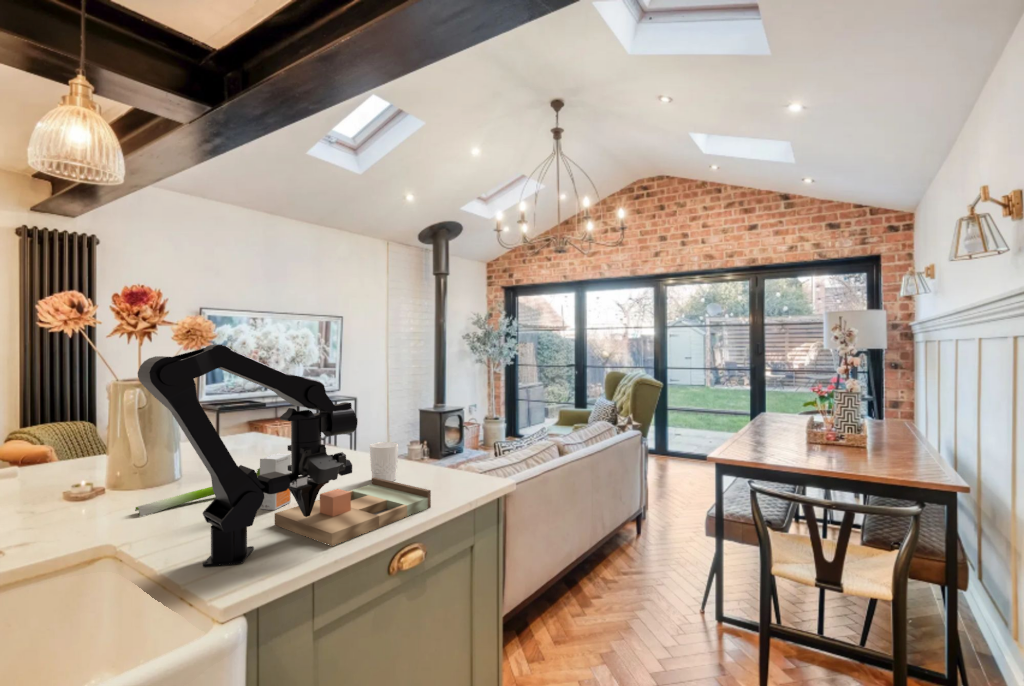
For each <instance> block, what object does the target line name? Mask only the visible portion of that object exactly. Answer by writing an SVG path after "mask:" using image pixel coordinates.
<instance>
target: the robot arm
mask: <svg viewBox="0 0 1024 686" xmlns="http://www.w3.org/2000/svg"><path fill="white" fill-rule="evenodd" d="M217 369H219V370H221V371H223V372H226V373H228V374H231V375H234V376H237V377H239V378H241V379H243V380H247V381H248V382H251V383H254V384H256V385H259V386H261V387H264V388H266V389H269V390H270V391H272V392H274V393H275V395H277V396H279V398H281V400H282V399H283V400H284V401H286V402H287V403H289V404H291V405H292V406H296V407H302V408H306V409H303V410H297V409H295V408H293V407H287V408H288V409H287V410H286V411H285V412H284V413H283V414H282V415H280V417H279V419H280V420H282V421H286V422H290V441H291V442H290V443H291V444H288V445H287V451H288V452H291V453H290V454H291V465H288V471H291V473H289V474H283V473H279V472H270V473H266V474H262V475H258V476H257V474H256V473H257V471H255V469H253V468H250V467H247V466H244V465H242V464H240V465H239V466H238V464H237V463H236V462H235V459H234V458H233V456H232V454H231V452H229V450H228V448H227V447H226V444H225V443H224V442H223V440H222V438H221V436H220V435H219V433H218V432H217V430H216V428H215V427H214V425H213V423H212V422H211V420H210V418H209V416H208V415H207V413H206V412H205V410H204V408H203V407H202V406H203V405H201V403H200V402H199V399H198V391H197V384H196V381H195V379H197V378H200V377H203V376H204V375H206V374H208V373H210V372H212V371H215V370H217ZM137 378H138V380H139V382H140V383H141V385H142V386H143V387H144V388H145V389H146V390H147V391H148V392H149V393H150V394H151V396H153V397H154V398H155V399H156V400H157V401H159V403H161V404H162V405H163V406H164V407H166V408H167V410H168V411H170V413H171V414H172V416H173V418H174V420H175V421H176V422H177V424H178V426H179V427H180V429H181V431H182V432H183V433H184V435H185V437H186V439H187V440H188V442H189V443H190V445H191V446H192V448H193V449H194V450H195V453H196V454H197V455H198V458H199V459H200V460H201V462H202V463H203V465H204V467H205V468H206V471H208V473H209V475H210V478H211V487H212V488H213V491H214V495H215V498H214V499H213V500H212V501H211V502H210V503H209V505H208V506H207V507H206V508H205V509H204V511H202V516H203V518H204V520H205V522H206V523H208V524H210V525H211V526H210V556H208V557H207V559H206V560H205V561H203V563H202V567H215V566H228V565H237V564H238V565H240V564H243V563H244V562H245V560H247V558H248V557H249V556H250V555H251V553H252V552H253V551H254V549H255V547H254V546H252V545H251V546H248V527H251V526H253V525H254V521H255V518H256V516H257V514H258V511H259V510H260V507H261V505H262V503H263V500H264V493H267V494H276V493H279V492H283V491H286V490H287V489H289V490H290V492H291V494H292V496H293V498H294V499H295V501H296V504H297V505H298V506H299V508H300V510H301V512H302V514H303V516H305V517H308V516H310V514H311V511H312V509H313V506H314V503H315V501H317V500H316V499H317V497H318V495H319V493H320V490H321V489H322V488H323V487H324V486H325V485H327V484H329V483H330V481H336V480H338V476H341V477H342V476H346V475H350V474H352V473H353V463H352V462H351V460H350V459H347V455H346V454H345V453H344V452H343V451H342V452H341V451H340V452H337V453H333V454H327V447H326V444H325V443H324V444H323V443H322V434H323V435H324V436H325V437H335V436H340V435H341V436H342V435H345V434H353V433H354V432H355V431H356V430H357V427H358V423H359V422H358V417H357V415H356V413H355V410H354V409H353V407H352V406H353V405H352V403H351V402H340V403H337V404H336V403H334V402H333V401H332V399H330V397H329V395H328V394H327V393H326V387H325V385H324V383H323V382H321V381H320V380H317V379H314V378H308V377H305V376H301V375H300V376H299V375H295V374H289V373H287V372H284V371H282V370H279V369H276V368H275V367H272V366H270V365H268V364H266V363H263V362H260V361H258V360H256V359H254V358H251V357H249V356H248V355H245V354H242V353H241V352H238V351H236V350H233V349H231V347H229V346H227V345H225V344H209V345H207V346H205V347H203V348H199V349H196V350H193V351H187V352H184V353H181V354H177V355H173V356H166V355H165V356H163V355H162V356H153V357H152V356H151V357H149V358H147V359H146V360H144V361H143V362H142V363H141V364H140V366H139V369H138V370H137ZM312 410H315V411H318V412H313V411H312Z"/></svg>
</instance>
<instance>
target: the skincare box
mask: <svg viewBox="0 0 1024 686" xmlns="http://www.w3.org/2000/svg"><path fill="white" fill-rule="evenodd" d="M288 465H291V453H278V452H277V453H273V454H270V455H267V456H265V457H262V458H260V459H259V468H260V475H262V474H266V473H270V472H279V473H283V474H289V473H291V471H288ZM291 494H292V493H291V492H290V490H289V489H287V490H286V491H283V492H279V493H276V494H267V493H264V500H263V503H262V505H261V507H260V508H259V510H265V511H266V510H269V511H276V510H277V509H279V508H280V509H281V508H282V507H283V506H285V505H288V504H291V500H292V499H291V498H292V497H291Z"/></svg>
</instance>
